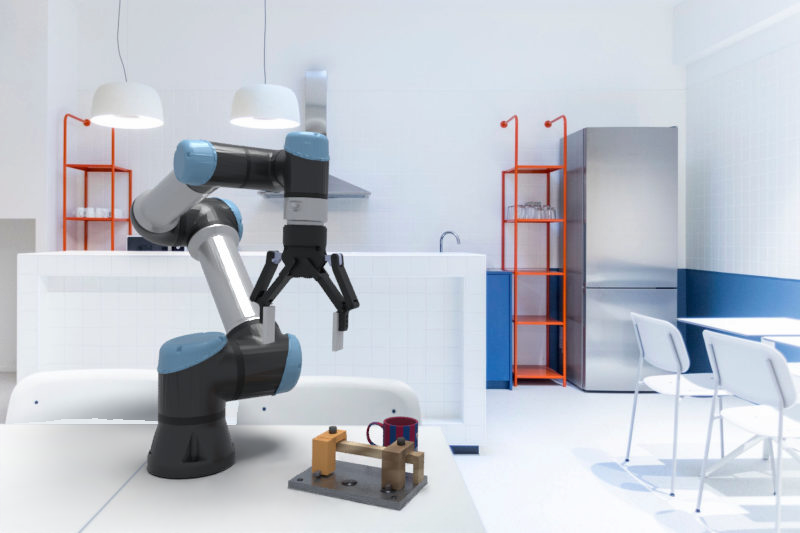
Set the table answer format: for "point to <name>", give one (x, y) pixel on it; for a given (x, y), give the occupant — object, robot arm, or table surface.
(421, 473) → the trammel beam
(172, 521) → the table surface
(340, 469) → the flange plate
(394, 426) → the mug
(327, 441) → the slider leg
